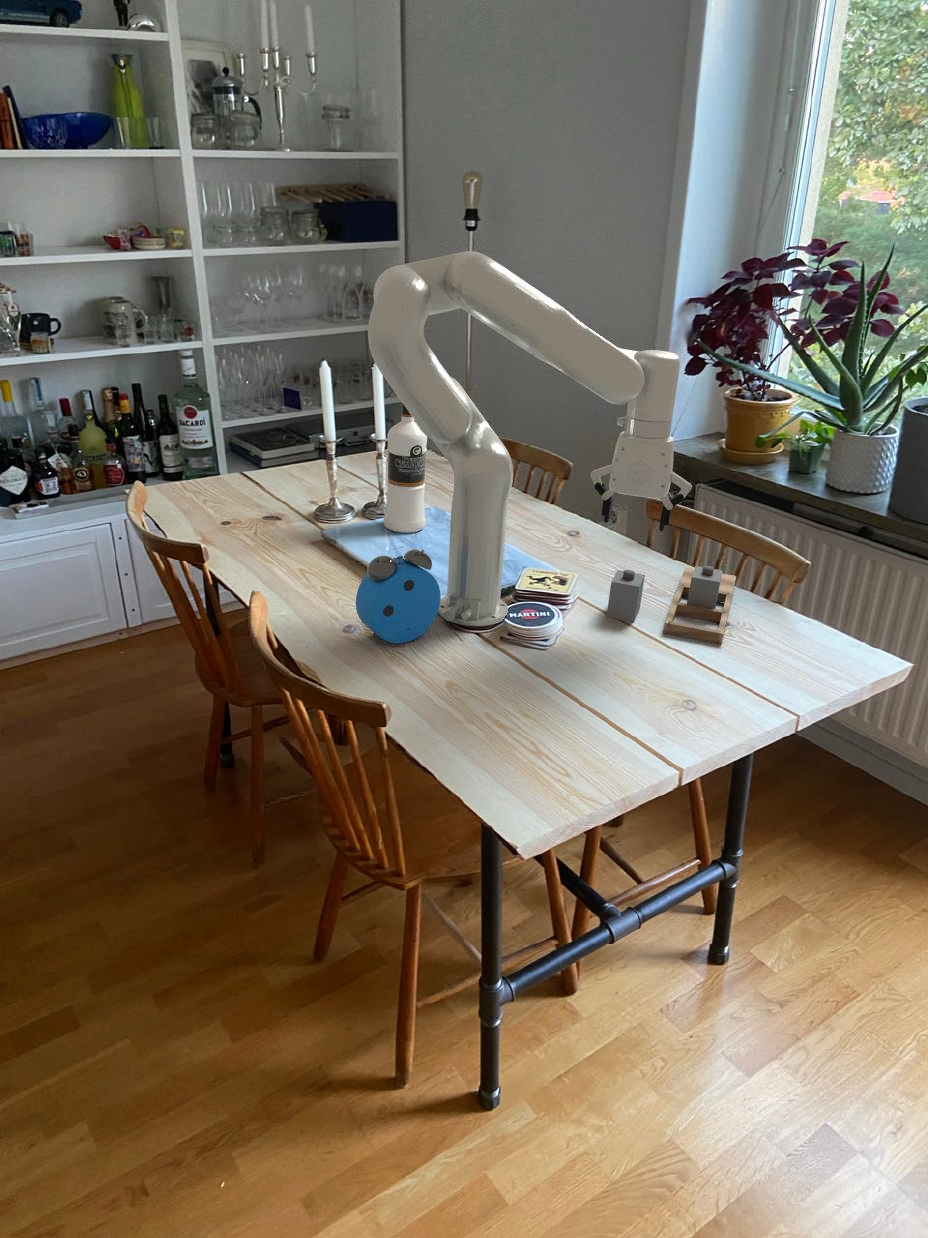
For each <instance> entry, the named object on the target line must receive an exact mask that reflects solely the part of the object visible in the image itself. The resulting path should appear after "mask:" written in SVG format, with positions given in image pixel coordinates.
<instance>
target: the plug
mask: <svg viewBox="0 0 928 1238" xmlns="http://www.w3.org/2000/svg"><path fill="white" fill-rule="evenodd" d="M645 577H646V575H645V574H641V573H636V572H635V571H634V570H631V569H625V570H621V569H617V570H616V572H615V574H614V576H613V578H612V580H611V581H610V588H609V596H608V603H607V610H606V618H609V619H614V620H618V621H619V620H620V621H625V622H629V623H635V621H636V618H637V616H638V614H639V613H640V608H641V604H642V596H643V590H644V583H645Z"/></svg>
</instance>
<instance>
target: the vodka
mask: <svg viewBox="0 0 928 1238" xmlns="http://www.w3.org/2000/svg"><path fill="white" fill-rule="evenodd" d="M401 403H402V402H401ZM427 443H428V437H427V436H426V435H425V434H424V433H423V432H422V431H421V430H420V428H419V427H418V425H417V424H416V422H415V420H414V418H413V417H412V415H411V414H410V412H409V411H408V410H407V408H406V407H405V406H404V404H403V403H402V404H401V421H400V422H397V423H396V424H395V425H393V426H391V427H390V428H389V430H388V432H387V448H386V449H387V481H386V484H385V485H386V490H387V491H386V492H387V493H386V504H385V511H384V512H385V513H384V514H383V524H384V526H385V528H386V529H388V530H390V531H391V532H393V533H394V532H395V533H401V534H414V533H417V532H420V531H421V530H423V529H424V528H425V527H426V524H427V523H426V522H427V517H426V514H425V512H426V511H425V488H426V483H425V480H426V460H427V459H426V457H427V455H426V454H427V450H428V449H427Z"/></svg>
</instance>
